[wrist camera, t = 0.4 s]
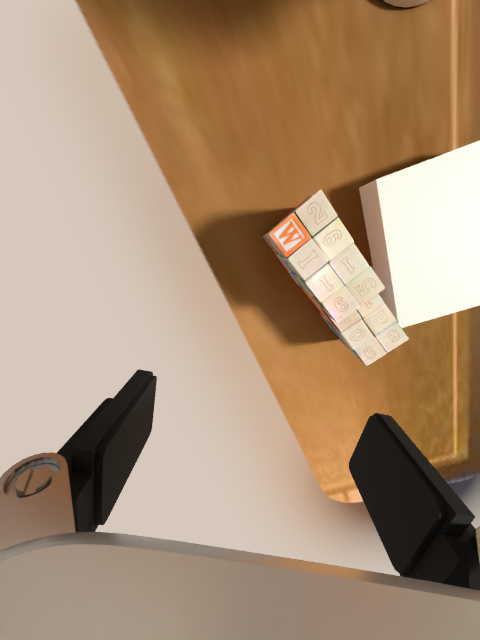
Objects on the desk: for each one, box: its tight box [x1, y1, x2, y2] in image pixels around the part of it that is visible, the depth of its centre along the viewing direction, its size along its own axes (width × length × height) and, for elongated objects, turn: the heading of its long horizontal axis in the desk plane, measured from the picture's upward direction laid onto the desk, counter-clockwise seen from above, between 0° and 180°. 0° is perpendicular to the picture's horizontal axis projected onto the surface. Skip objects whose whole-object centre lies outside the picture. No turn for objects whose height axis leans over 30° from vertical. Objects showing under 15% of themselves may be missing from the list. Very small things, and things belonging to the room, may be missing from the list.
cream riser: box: [359, 141, 480, 328], centre depth 33 cm, size 12×20×5 cm, turn 19°
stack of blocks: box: [263, 190, 408, 366], centre depth 31 cm, size 21×6×12 cm, turn 40°
